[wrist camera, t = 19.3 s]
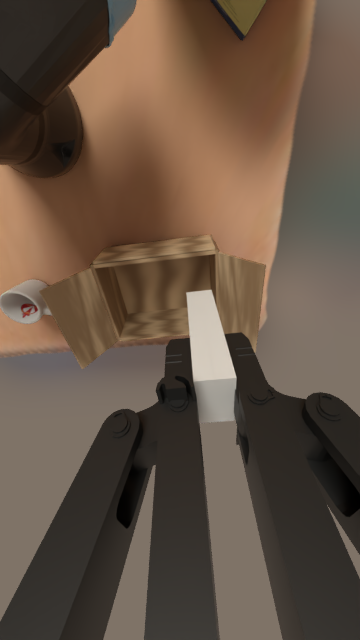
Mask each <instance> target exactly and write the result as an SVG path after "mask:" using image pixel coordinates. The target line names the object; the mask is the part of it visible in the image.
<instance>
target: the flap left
mask: <svg viewBox="0 0 360 640" xmlns="http://www.w3.org/2000/svg"><path fill="white" fill-rule="evenodd" d="M39 292H40V294H41V296H42V298H43V300H44V301H45V303H46V305H47V307H48V309H49V310H50V312H51V314H52V316H53V318H54V319H55V321H56V323H57V325H58V327H59V328H60V330H61V332H62V334H63V336H64V337H65V339H66V341H67V343H68V345H69V346H70V348H71V350H72V352H73V354H74V355H75V357H76V359H77V361H78V363H79V365H80V366H81V368H82V369H84V368H85V367H86V366H87V365H89V364H90V363H91V362H92V361H94V360H95V359H96V358H97V357H99V356H100V355H101V354H102V353H104V352H105V351H106V350H107V349H109V348H110V347H111V346H112V345H114V344H115V343H116V342H117V338H116V335H115V333H114V330H113V327H112V325H111V322H110V319H109V317H108V314H107V311H106V309H105V306H104V303H103V301H102V298H101V295H100V293H99V290H98V287H97V285H96V282H95V279H94V277H93V274H92V271H91V269H90V268H88V269H86V270H83V271H81V272H79V273H77V274H75V275H73V276H70V277H68V278H66V279H64V280H62V281H60V282H57V283H55V284H53V285H51V286H49V287H47V288H44V289H42V290H40V291H39Z"/></svg>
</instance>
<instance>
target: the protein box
mask: <svg viewBox="0 0 360 640" xmlns="http://www.w3.org/2000/svg"><path fill="white" fill-rule="evenodd" d="M266 1H267V0H211V2H212V3H213V4H214V6H215V7H216V8H217V10H218V11H219V12H220V14H221V15H222V16H223V17H224V19H225V20H226V21H227V23H228V24H229V25H230V27H231V28H232V29H233V30H234V32H235V33H236V34H237V36H238V37H239V38H240V40H242V41H243V39H244V38H245V36H246V34H247V33H248V31H249V29H250V28H251V26H252V24H253V23H254V21H255V19H256V18H257V16H258V14H259V13H260V11H261V9H262V8H263V6H264V4H265V3H266Z"/></svg>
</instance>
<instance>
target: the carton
mask: <svg viewBox="0 0 360 640" xmlns="http://www.w3.org/2000/svg"><path fill="white" fill-rule="evenodd" d="M218 253H219V249H218V247H217V245H216V243H215V241H214V239H213V237H212V235H202V236H194V237H186V238H178V239H170V240H162V241H154V242H146V243H138V244H130V245H122V246H114V247H106V248H104V249H103V251H102V252H101V253H100V254H99V255H98V256H97V257H96V259H95V260H94V261H93V262H92V264H91V265H90V268H91V270H92V273H93V276H94V278H95V281H96V284H97V286H98V289H99V292H100V294H101V297H102V300H103V302H104V305H105V308H106V310H107V313H108V316H109V318H110V321H111V324H112V326H113V329H114V332H115V335H116V337H117V340H118V341H120V340H121V342H122V341H132V340H142V339H152V338H162V337H172V336H182V335H190V332H189V319H188V307H187V294H186V292H195V291H204V290H212V293H213V297H214V300H215V304H216V307H217V311H218V314H219V258H218Z"/></svg>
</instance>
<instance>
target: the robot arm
mask: <svg viewBox="0 0 360 640" xmlns="http://www.w3.org/2000/svg"><path fill="white" fill-rule="evenodd" d="M135 6H136V0H0V165H9V166H11V167H13V168H14V169H16V170H18V171H20V172H22V173H24V174H26V175H29V176H33V177H38V178H51V177H57V176H61V175H63V174H65V173H66V172H68V171H69V170H70V169H71V168H72V167H73V166H74V165H75V163H76V161H77V159H78V157H79V155H80V152H81V147H82V139H83V132H82V122H81V117H80V113H79V109H78V106H77V104H76V101H75V98H74V96H73V94H72V92H71V90H70V88H69V86H68V85H69V84H70V83H71V82H72V81H73V80H74V79H75V78H76V77H77V76H78V75H79V74H80V73H81V72H82V71H83V70H84V69H85V68H86V66H87V65H88V64H89V63H90V62H91V61H92V60H93V59H94V58H95V57H96V56H97V55H98V54H99V53H100V52H101V51H102V50H103V49H104V48H108V47H110V46H111V43H112V42H113V40H114V36H115V35H116V34H117V32H118V31H119V30H120V29H121V28H122V26H123V25H124V24H125V23H126V22H127V20H128V19H129V18H130V17H131V15H132V14H133V12H134V9H135ZM186 294H187V307H188V319H189V332H190V338H185V339H175V340H170V342H169V344H168V345H167V347H166V360H165V377H164V378H162V379H161V381H160V382H159V383H158V385H157V388H156V393H157V396H158V400H159V401H158V402H157V403H156V404H154V405H153V406H151V407H149V408H147V409H145V410H143V411H140V412H137V413H135V412H134V411H132V410H129V409H121V410H118V411H116V412H114V413H112V414H111V415H110V416H109V417H108V418H107V419H106V420H105V422H104V423H103V425H102V427H101V429H100V431H99V432H98V434H97V436H96V438H95V440H94V442H93V444H92V446H91V448H90V450H89V452H88V454H87V456H86V458H85V459H84V461H83V464H82V465H81V467H80V469H79V471H78V473H77V475H76V477H75V479H74V481H73V483H72V484H71V486H70V488H69V491H68V492H67V494H66V496H65V498H64V500H63V502H62V504H61V506H60V508H59V510H58V511H57V514H56V515H55V517H54V519H53V521H52V523H51V525H50V527H49V529H48V531H47V533H46V535H45V537H44V539H43V540H42V542H41V544H40V546H39V548H38V550H37V552H36V554H35V556H34V558H33V560H32V562H31V564H30V566H29V567H28V569H27V571H26V573H25V575H24V577H23V579H22V581H21V583H20V585H19V587H18V589H17V590H16V593H15V594H14V597H13V598H12V600H11V602H10V604H9V606H8V608H7V610H6V612H5V614H4V616H3V617H2V620H1V621H0V640H103V638H104V634H105V631H106V627H107V623H108V620H109V617H110V613H111V610H112V607H113V603H114V599H115V596H116V593H117V589H118V586H119V582H120V579H121V575H122V572H123V568H124V565H125V561H126V558H127V554H128V551H129V547H130V543H131V540H132V537H133V533H134V530H135V526H136V523H137V519H138V516H139V512H140V509H141V505H142V502H143V498H144V495H145V491H146V488H147V484H148V480H149V477H150V474H151V470H152V467H153V465H156V470H155V486H154V501H153V516H152V530H151V545H150V560H149V576H148V590H147V605H146V620H145V635H144V640H220V638H219V628H218V617H217V606H216V596H215V584H214V574H213V563H212V552H211V542H210V530H209V519H208V509H207V499H206V487H205V476H204V467H203V456H202V445H201V435H200V425H199V423H209V422H222V421H234V419H236V423H237V438H236V442H237V445H238V444H239V446H240V450H241V455H242V459H243V463H244V468H245V472H246V477H247V481H248V486H249V490H250V495H251V499H252V504H253V508H254V513H255V517H256V522H257V526H258V531H259V535H260V540H261V544H262V549H263V553H264V557H265V562H266V566H267V570H268V575H269V580H270V584H271V589H272V593H273V598H274V602H275V607H276V611H277V616H278V620H279V625H280V629H281V633H282V638H283V640H360V579H359V576H358V574H357V572H356V570H355V567H354V565H353V563H352V561H351V558H350V556H349V554H348V552H347V549H346V547H345V545H344V542H343V540H342V538H341V536H340V533H339V531H338V529H337V527H336V524H335V522H334V520H333V518H332V515H331V513H330V511H329V509H328V507H329V508H330V510H331V511H332V513H333V514H334V516H335V517H336V519H337V520H338V522H339V524H340V525H341V526H342V528H343V530H344V531H345V533H346V534H347V536H348V537H349V539H350V540H351V542H352V543H353V545H354V546H355V548H356V550H357V551H358V553H359V554H360V417H359V416H358V415H357V414H356V413H355V412H354V411H353V410H352V409H351V408H350V407H349V406H348V405H347V404H346V403H344V402H343V401H342V400H340V399H339V398H337V397H335V396H333V395H331V394H327V393H321V392H320V393H313V394H311V395H310V396H308V397H307V399H301V398H296V397H291V396H287V395H284V394H281V393H279V392H277V391H276V390H274V388H272V387H271V386H270V385H269V384H268V382H267V381H266V379H265V377H264V374H263V372H262V369H261V367H260V365H259V362H258V360H257V357H256V355H255V353H254V350H253V348H252V345H251V343H250V341H249V339H248V338H247V337H246V336H245V335H244V334H243V333H242V332H239V333H229V334H224V332H223V328H222V325H221V321H220V318H219V314H218V311H217V307H216V304H215V300H214V297H213V293H212V290H204V291H195V292H186ZM327 505H328V507H327Z"/></svg>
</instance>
